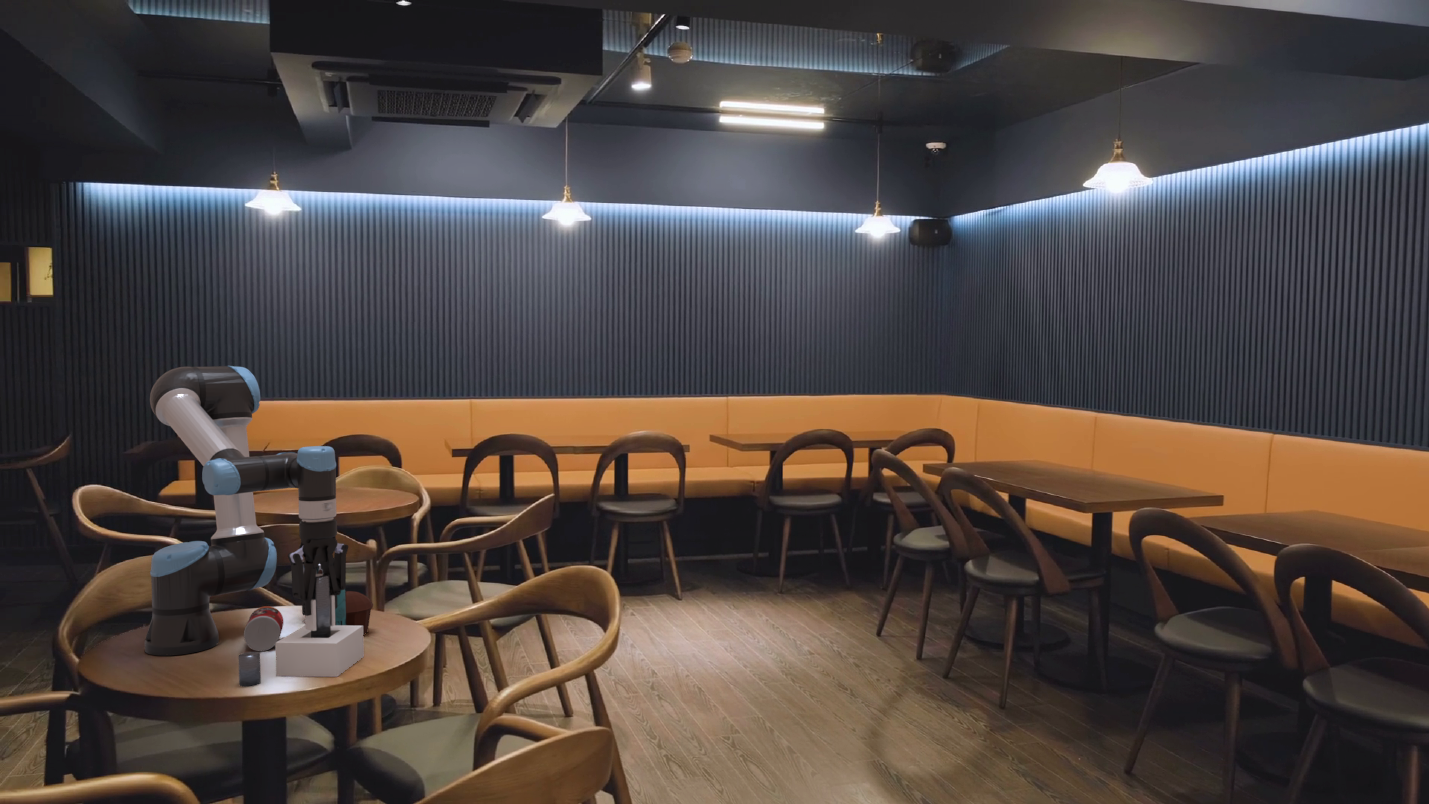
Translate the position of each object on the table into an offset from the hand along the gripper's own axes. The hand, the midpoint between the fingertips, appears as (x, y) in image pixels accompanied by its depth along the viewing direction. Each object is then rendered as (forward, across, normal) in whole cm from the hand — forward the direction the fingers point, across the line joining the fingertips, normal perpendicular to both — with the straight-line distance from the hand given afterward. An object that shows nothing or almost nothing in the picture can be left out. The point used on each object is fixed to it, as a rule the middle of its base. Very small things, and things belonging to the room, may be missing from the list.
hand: (320, 627), depth 220 cm
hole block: (+9, 0, 0) cm, 9 cm away
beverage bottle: (+9, +11, +12) cm, 19 cm away
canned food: (+5, +6, +30) cm, 31 cm away
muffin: (+9, +19, +17) cm, 27 cm away
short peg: (+9, -15, +2) cm, 17 cm away
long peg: (+3, 0, 0) cm, 3 cm away
